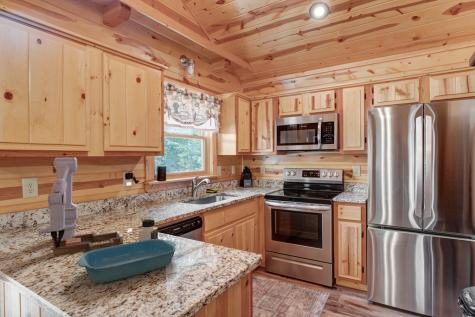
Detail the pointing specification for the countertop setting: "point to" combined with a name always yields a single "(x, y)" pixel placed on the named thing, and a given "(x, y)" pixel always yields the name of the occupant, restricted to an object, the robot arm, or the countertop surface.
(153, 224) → the medicine bottle
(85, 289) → the countertop surface
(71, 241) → the block
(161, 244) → the casserole dish
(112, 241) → the trap lane
